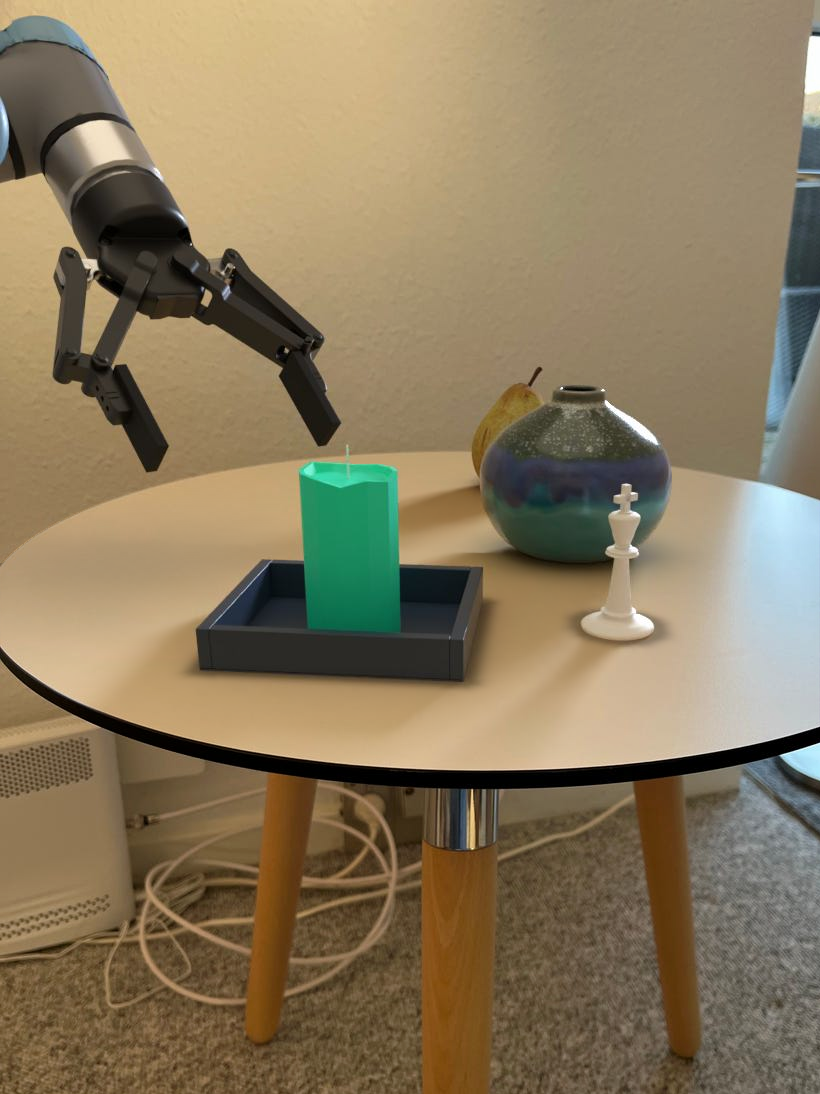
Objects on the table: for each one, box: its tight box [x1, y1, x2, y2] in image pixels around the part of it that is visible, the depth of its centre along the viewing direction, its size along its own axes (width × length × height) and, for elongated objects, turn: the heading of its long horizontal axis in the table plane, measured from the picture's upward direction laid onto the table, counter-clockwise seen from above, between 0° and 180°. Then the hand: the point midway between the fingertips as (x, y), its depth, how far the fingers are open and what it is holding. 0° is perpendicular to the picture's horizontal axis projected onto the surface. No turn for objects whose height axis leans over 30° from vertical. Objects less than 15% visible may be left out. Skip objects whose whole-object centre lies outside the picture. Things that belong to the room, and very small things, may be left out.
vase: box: [478, 384, 673, 564], centre depth 81 cm, size 15×15×13 cm
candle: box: [298, 444, 401, 633], centre depth 63 cm, size 6×6×12 cm
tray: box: [195, 558, 484, 683], centre depth 65 cm, size 16×14×3 cm
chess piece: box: [580, 484, 655, 642], centre depth 65 cm, size 5×5×10 cm
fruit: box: [471, 366, 546, 480], centre depth 103 cm, size 9×9×12 cm
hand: (249, 447), depth 69 cm, fingers open, 13 cm apart
